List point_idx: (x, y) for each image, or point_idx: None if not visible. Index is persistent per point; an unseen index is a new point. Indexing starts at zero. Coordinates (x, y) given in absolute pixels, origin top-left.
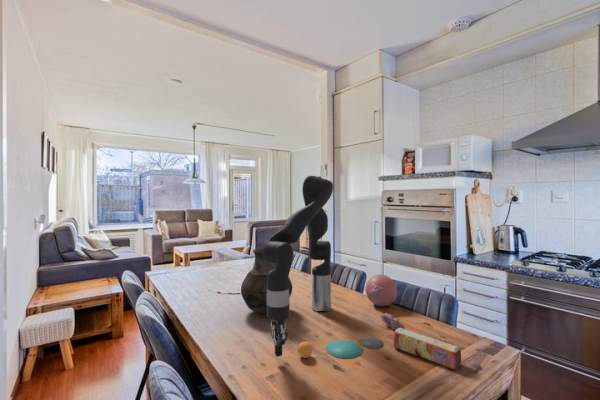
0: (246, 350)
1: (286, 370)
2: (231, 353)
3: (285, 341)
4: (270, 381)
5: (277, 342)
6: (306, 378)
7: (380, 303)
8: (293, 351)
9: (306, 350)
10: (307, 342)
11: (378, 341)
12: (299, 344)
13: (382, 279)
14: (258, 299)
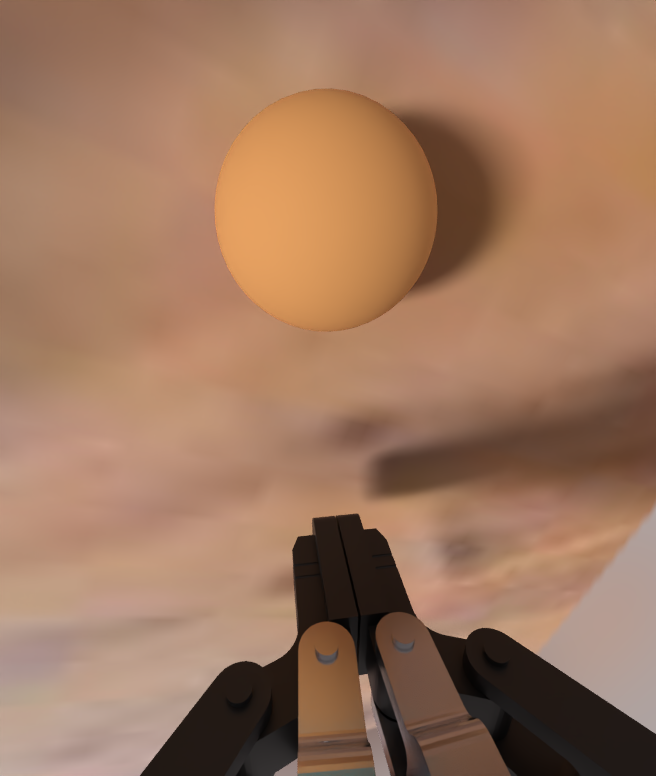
0: (44, 671)
1: (449, 451)
2: (78, 740)
3: (602, 702)
4: (507, 557)
5: (510, 751)
6: (621, 340)
7: None
8: (146, 309)
9: (432, 240)
10: (351, 168)
11: None
12: (291, 308)
13: None
14: None
